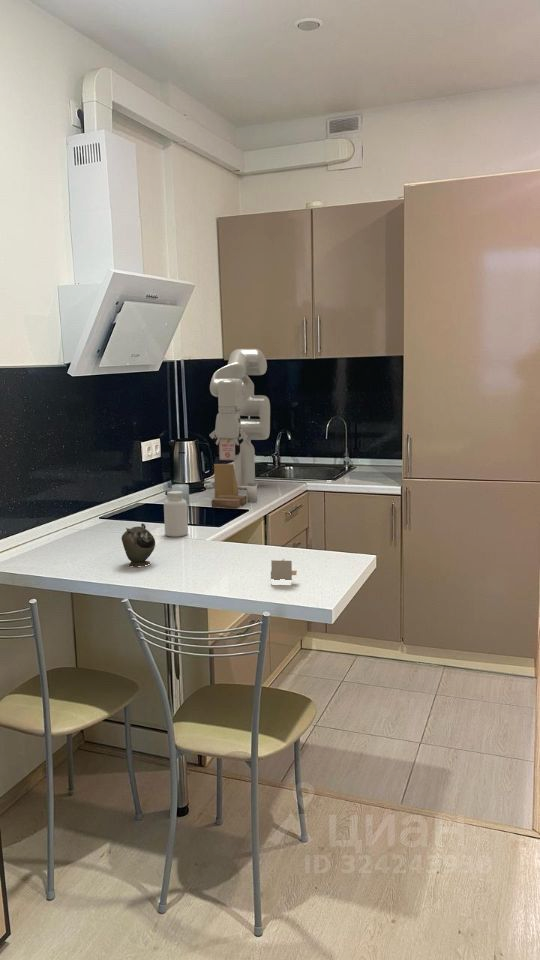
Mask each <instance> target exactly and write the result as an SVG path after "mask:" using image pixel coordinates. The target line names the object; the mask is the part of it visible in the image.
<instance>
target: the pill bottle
mask: <svg viewBox="0 0 540 960" xmlns="http://www.w3.org/2000/svg"><path fill="white" fill-rule="evenodd" d="M166 495H168V497H167V496H166V499H165V501H164V503H163V513H164V514H163V516H164V519H163V520H164V521H163V522H164V534H165V536H168V537H173V538H176V537H178V538H179V537H183V536H186V535H188V533H189V525H188V505H187V502H186V501H185V500H184V499H182V498H183V492H182V491H170V492H168V493H167V492H166ZM167 498H168V499H167Z"/></svg>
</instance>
